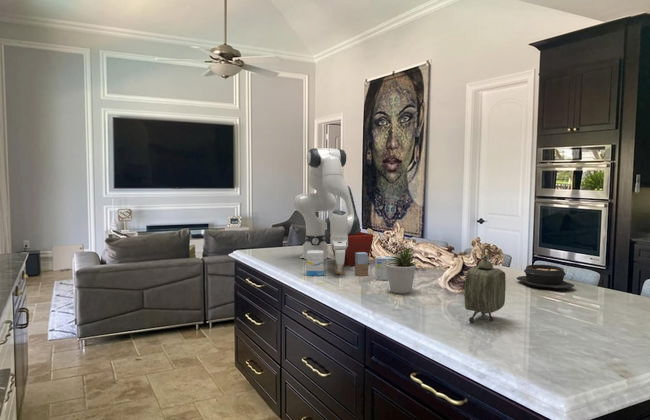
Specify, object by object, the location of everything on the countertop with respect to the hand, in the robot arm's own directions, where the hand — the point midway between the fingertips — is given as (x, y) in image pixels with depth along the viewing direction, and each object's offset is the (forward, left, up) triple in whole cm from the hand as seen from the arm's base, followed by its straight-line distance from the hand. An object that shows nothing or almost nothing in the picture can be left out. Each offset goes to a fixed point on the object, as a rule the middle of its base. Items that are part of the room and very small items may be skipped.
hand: (339, 270), depth 241 cm
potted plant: (+38, +25, -2) cm, 46 cm away
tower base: (+3, +11, -2) cm, 12 cm away
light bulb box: (+13, +22, -2) cm, 26 cm away
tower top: (+3, +11, +4) cm, 12 cm away
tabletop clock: (+79, +46, -2) cm, 91 cm away
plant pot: (-28, +8, -2) cm, 29 cm away
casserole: (+30, +90, -2) cm, 95 cm away
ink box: (+1, -12, -2) cm, 12 cm away
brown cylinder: (0, 0, -2) cm, 2 cm away
